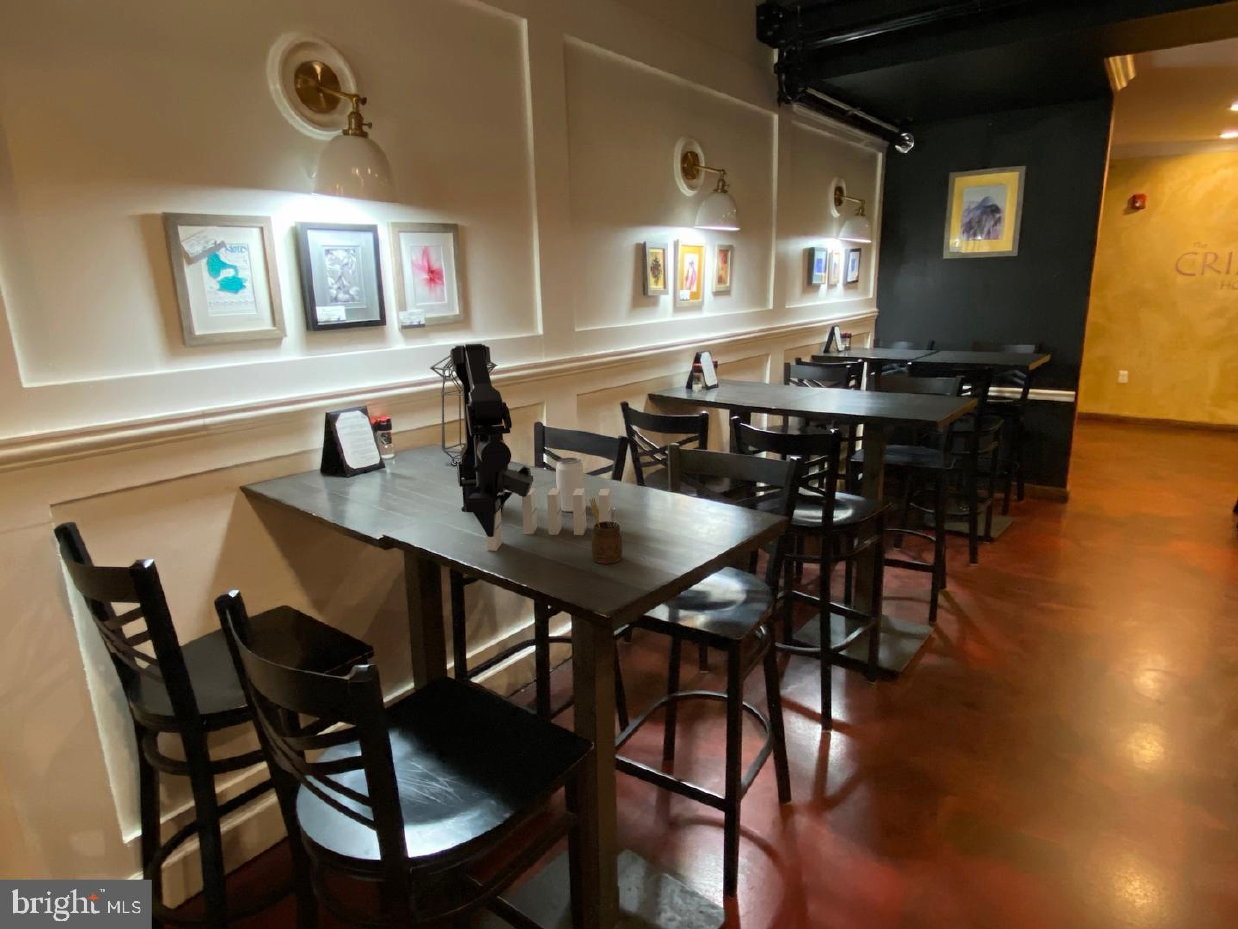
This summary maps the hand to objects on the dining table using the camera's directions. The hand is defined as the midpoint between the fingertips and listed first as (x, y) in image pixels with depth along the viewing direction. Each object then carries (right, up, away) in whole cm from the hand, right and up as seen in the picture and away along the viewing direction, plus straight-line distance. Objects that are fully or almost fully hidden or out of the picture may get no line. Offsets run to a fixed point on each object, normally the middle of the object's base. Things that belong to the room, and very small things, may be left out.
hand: (494, 532), depth 147 cm
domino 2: (+6, -1, +10) cm, 12 cm away
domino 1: (0, -3, +1) cm, 3 cm away
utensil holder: (+23, -5, -7) cm, 25 cm away
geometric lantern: (-20, +15, +72) cm, 76 cm away
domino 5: (+23, -1, +9) cm, 24 cm away
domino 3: (+12, -1, +9) cm, 15 cm away
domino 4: (+17, -1, +9) cm, 20 cm away
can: (+14, +3, +25) cm, 29 cm away
